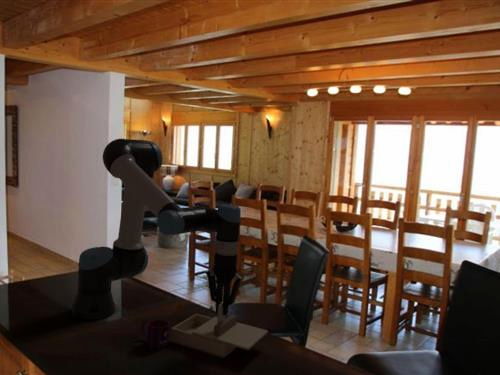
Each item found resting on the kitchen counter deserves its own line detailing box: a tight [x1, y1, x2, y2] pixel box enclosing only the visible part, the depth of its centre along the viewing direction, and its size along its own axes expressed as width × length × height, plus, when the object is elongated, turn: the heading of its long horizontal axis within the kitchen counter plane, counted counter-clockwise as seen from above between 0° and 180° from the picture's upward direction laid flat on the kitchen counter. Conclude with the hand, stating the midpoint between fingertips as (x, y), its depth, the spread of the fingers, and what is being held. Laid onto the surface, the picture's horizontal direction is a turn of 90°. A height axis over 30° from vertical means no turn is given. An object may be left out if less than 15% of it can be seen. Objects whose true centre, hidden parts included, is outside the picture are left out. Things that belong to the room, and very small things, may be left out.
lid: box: [192, 313, 269, 351], centre depth 140 cm, size 20×15×4 cm
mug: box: [141, 318, 170, 350], centre depth 140 cm, size 7×10×7 cm
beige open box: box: [169, 313, 238, 359], centre depth 144 cm, size 20×15×4 cm
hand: (221, 323), depth 142 cm, fingers closed
